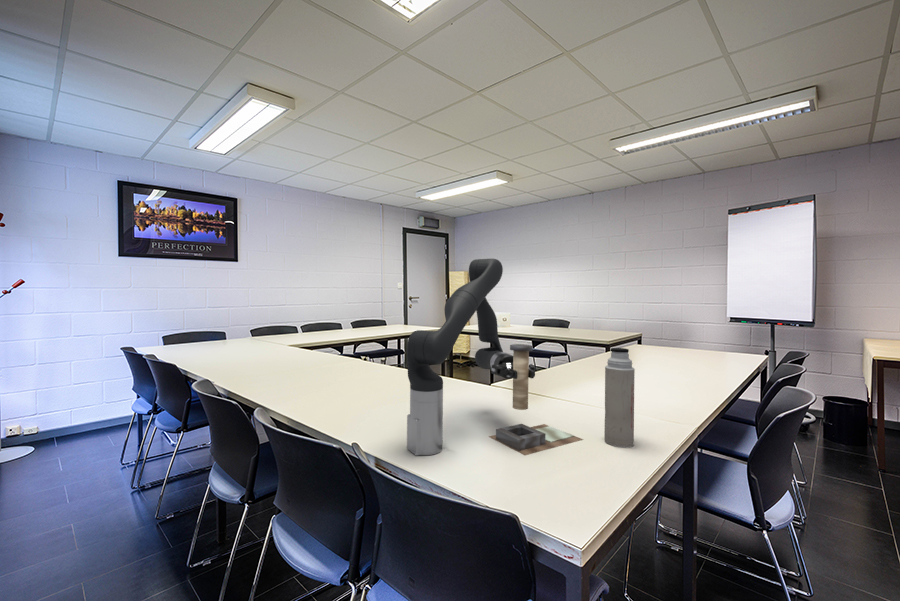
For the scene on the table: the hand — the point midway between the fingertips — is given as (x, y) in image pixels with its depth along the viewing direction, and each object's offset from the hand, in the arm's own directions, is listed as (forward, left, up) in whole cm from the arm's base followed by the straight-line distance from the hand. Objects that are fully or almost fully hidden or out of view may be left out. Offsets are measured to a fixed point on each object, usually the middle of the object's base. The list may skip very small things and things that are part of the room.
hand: (524, 375), depth 109 cm
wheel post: (+1, +3, -10) cm, 10 cm away
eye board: (+7, +3, -21) cm, 22 cm away
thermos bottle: (+28, -10, -21) cm, 37 cm away
